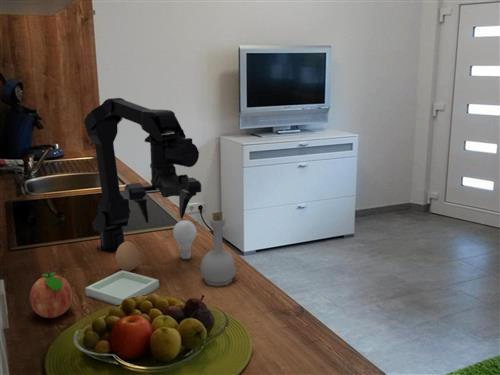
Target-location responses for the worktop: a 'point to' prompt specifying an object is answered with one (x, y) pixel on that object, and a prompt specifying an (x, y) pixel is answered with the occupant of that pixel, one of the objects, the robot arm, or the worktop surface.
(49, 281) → the fruit
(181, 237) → the lightbulb
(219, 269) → the potion bottle
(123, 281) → the dish
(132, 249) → the egg
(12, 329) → the worktop surface
